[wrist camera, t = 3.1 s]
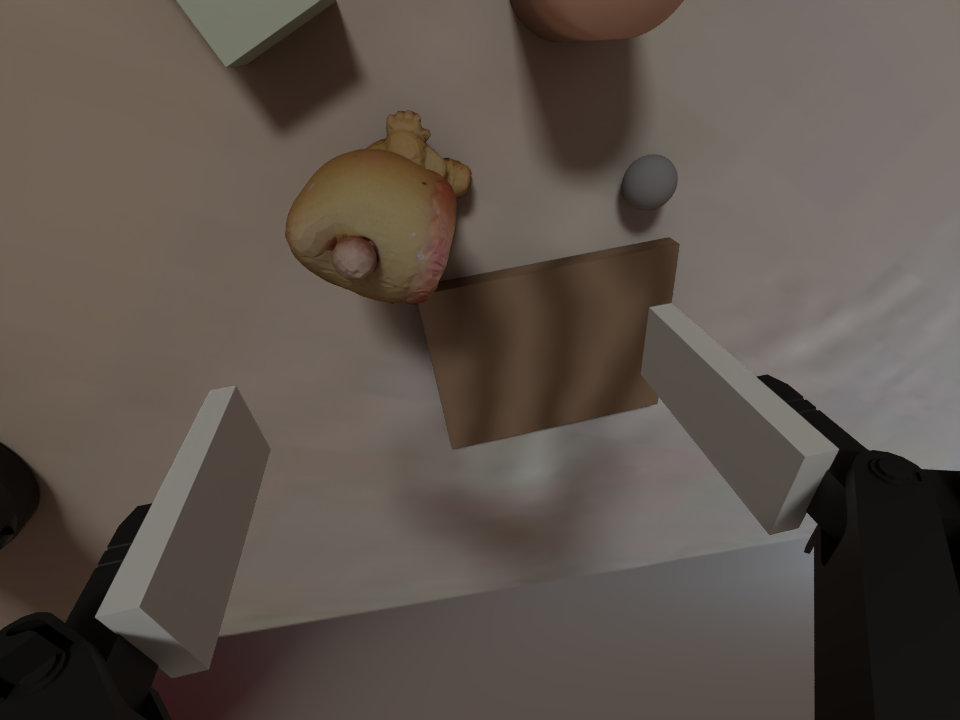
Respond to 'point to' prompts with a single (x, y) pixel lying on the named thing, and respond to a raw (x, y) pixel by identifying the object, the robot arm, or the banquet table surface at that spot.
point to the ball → (649, 182)
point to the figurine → (381, 216)
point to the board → (546, 340)
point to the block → (248, 24)
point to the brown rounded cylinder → (592, 18)
